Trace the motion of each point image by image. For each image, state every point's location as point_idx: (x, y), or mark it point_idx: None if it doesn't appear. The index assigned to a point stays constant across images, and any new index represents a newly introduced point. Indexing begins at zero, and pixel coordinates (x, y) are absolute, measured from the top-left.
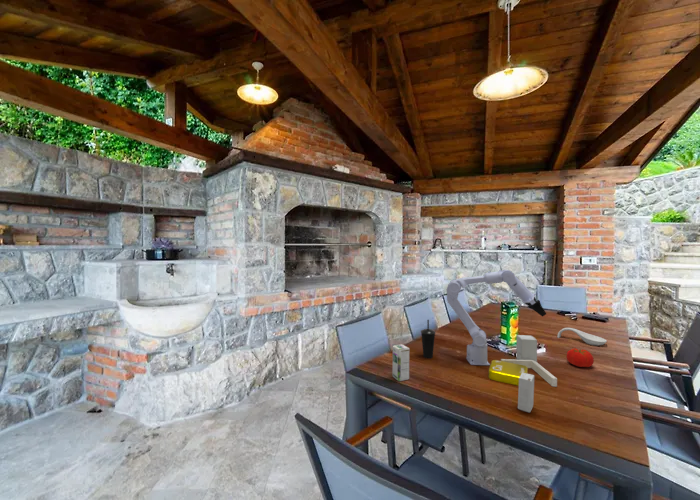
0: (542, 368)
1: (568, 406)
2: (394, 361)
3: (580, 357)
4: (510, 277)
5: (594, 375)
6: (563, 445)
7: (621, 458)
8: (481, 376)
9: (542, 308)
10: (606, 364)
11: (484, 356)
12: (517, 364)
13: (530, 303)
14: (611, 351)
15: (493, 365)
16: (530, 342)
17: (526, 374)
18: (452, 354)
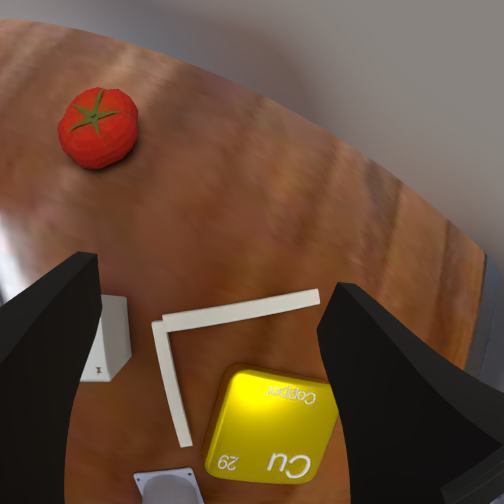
0: (239, 312)
1: (399, 298)
2: None
3: (130, 129)
4: None
5: (185, 134)
6: (481, 341)
7: (484, 274)
8: (287, 487)
9: (418, 345)
10: (97, 72)
11: (194, 498)
12: (232, 401)
13: (43, 472)
14: (21, 41)
15: (267, 475)
16: (108, 331)
17: None
18: None
